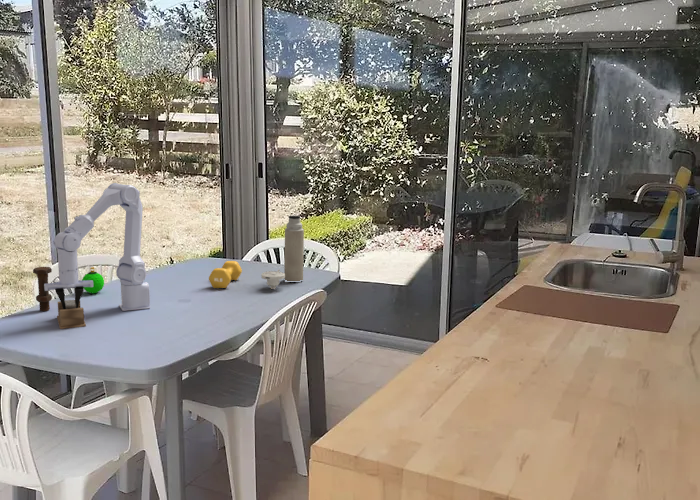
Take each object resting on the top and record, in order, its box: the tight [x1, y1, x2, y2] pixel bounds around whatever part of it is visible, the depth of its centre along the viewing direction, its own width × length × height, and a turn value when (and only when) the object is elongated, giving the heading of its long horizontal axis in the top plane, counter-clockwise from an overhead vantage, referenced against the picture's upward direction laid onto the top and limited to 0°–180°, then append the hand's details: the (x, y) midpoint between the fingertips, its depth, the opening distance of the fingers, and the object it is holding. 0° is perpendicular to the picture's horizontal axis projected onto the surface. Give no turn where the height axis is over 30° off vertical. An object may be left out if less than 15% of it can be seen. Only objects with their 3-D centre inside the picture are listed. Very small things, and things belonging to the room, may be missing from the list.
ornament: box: [81, 266, 105, 294], centre depth 249 cm, size 8×8×10 cm
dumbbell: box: [208, 260, 243, 289], centre depth 270 cm, size 19×9×8 cm, turn 172°
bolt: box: [32, 266, 53, 312], centre depth 224 cm, size 6×5×15 cm
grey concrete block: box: [65, 299, 76, 309], centre depth 213 cm, size 3×6×6 cm, turn 27°
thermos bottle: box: [283, 214, 305, 281], centre depth 276 cm, size 8×8×28 cm
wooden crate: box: [56, 299, 87, 330], centre depth 214 cm, size 8×14×6 cm, turn 27°
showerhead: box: [260, 268, 285, 290], centre depth 263 cm, size 9×7×10 cm
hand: (70, 309), depth 213 cm, fingers closed on grey concrete block, 3 cm apart
